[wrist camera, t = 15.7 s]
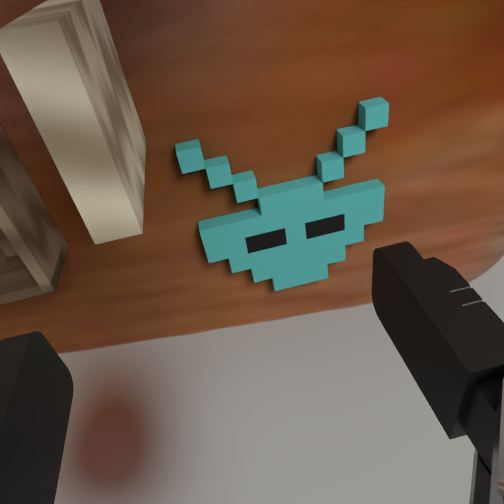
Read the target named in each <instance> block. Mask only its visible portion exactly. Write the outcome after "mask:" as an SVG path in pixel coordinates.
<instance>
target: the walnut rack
mask: <svg viewBox="0 0 504 504" xmlns="http://www.w3.org/2000/svg"><path fill="white" fill-rule="evenodd" d="M67 249H68V245H67V243H66V241H65V239H64V237H63V236H62V234H61V232H60V230H59V228H58V227H57V225H56V223H55V221H54V219H53V218H52V216H51V214H50V212H49V210H48V209H47V207H46V205H45V203H44V202H43V200H42V198H41V196H40V194H39V193H38V191H37V189H36V187H35V185H34V184H33V182H32V180H31V178H30V176H29V175H28V173H27V171H26V169H25V168H24V166H23V164H22V162H21V160H20V159H19V157H18V155H17V153H16V151H15V150H14V148H13V146H12V144H11V142H10V141H9V139H8V137H7V135H6V134H5V132H4V130H3V128H2V126H1V125H0V305H2V304H6V303H10V302H14V301H18V300H22V299H26V298H30V297H35V296H39V295H43V294H47V293H51V292H55V291H56V288H57V285H58V281H59V278H60V274H61V270H62V267H63V263H64V259H65V256H66V252H67Z"/></svg>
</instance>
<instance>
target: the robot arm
mask: <svg viewBox="0 0 504 504" xmlns="http://www.w3.org/2000/svg"><path fill="white" fill-rule="evenodd" d="M372 300H373V305H374V308H375V311H376V314H377V316H378V317H379V319H380V321H381V323H382V325H383V326H384V328H385V330H386V331H387V333H388V335H389V337H390V338H391V340H392V342H393V343H394V345H395V347H396V349H397V350H398V352H399V353H400V355H401V357H402V359H403V360H404V362H405V364H406V366H407V367H408V369H409V371H410V372H411V374H412V376H413V378H414V379H415V381H416V383H417V384H418V386H419V388H420V389H421V391H422V393H423V395H424V396H425V398H426V400H427V401H428V403H429V405H430V406H431V408H432V410H433V411H434V413H435V415H436V417H437V418H438V420H439V422H440V424H441V425H442V427H443V429H444V430H445V432H446V434H447V435H448V437H449V439H453V438H456V437H460V436H463V435H468V437H469V439H470V440H471V442H472V443H473V445H474V447H475V448H476V449H475V453H474V461H473V472H472V483H471V492H470V503H469V504H504V323H503V321H502V320H501V319H500V318H499V317H498V316H497V315H496V314H495V312H493V310H492V309H491V308H490V307H489V306H488V305H487V304H486V303H485V302H483V301H482V298H481V297H480V296H479V295H478V294H477V293H476V291H475V290H474V289H473V288H470V285H469V284H468V282H467V281H466V280H465V279H464V278H463V277H462V276H461V275H460V274H459V273H458V271H457V270H456V269H455V268H453V267H451V266H449V265H448V264H446V263H444V262H442V261H441V260H439V259H437V258H435V257H432V258H428V259H423V258H422V257H421V255H420V254H419V253H418V252H417V251H416V249H415V248H414V247H413V246H412V245H411V244H410V243H409V242H401V243H397V244H393V245H389V246H385V247H381V248H377V249H375V250H374V253H373V273H372ZM72 398H73V381H72V377H71V374H70V371H69V370H68V368H67V367H66V365H65V364H64V363H63V361H62V360H61V358H60V357H59V356H58V354H57V353H56V352H55V350H54V349H53V347H52V346H51V345H50V343H49V342H48V341H47V339H46V338H45V337H44V335H43V334H42V333H40V332H37V331H36V332H31V333H27V334H23V335H19V336H15V337H11V338H7V339H3V340H1V341H0V504H54V500H55V495H56V489H57V483H58V478H59V472H60V466H61V461H62V455H63V449H64V443H65V438H66V432H67V427H68V421H69V414H70V409H71V404H72Z"/></svg>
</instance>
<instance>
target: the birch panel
mask: <svg viewBox="0 0 504 504" xmlns="http://www.w3.org/2000/svg"><path fill="white" fill-rule="evenodd" d="M0 54H1V56H2V58H3V60H4V62H5V64H6V66H7V68H8V70H9V72H10V74H11V76H12V78H13V80H14V82H15V84H16V86H17V88H18V90H19V92H20V94H21V96H22V98H23V100H24V102H25V104H26V106H27V108H28V110H29V112H30V114H31V116H32V118H33V120H34V122H35V124H36V126H37V128H38V130H39V132H40V134H41V136H42V138H43V140H44V142H45V144H46V146H47V148H48V150H49V152H50V154H51V156H52V159H53V161H54V163H55V165H56V167H57V169H58V171H59V173H60V175H61V177H62V179H63V181H64V183H65V185H66V187H67V189H68V191H69V193H70V195H71V197H72V199H73V201H74V203H75V205H76V207H77V209H78V211H79V213H80V215H81V217H82V219H83V221H84V223H85V225H86V227H87V229H88V231H89V233H90V235H91V237H92V239H93V241H94V243H95V245H96V244H100V243H104V242H109V241H113V240H117V239H122V238H126V237H130V236H134V235H139V234H143V209H144V184H145V158H146V139H145V136H144V133H143V130H142V127H141V124H140V121H139V118H138V115H137V112H136V109H135V106H134V103H133V100H132V97H131V93H130V90H129V87H128V84H127V81H126V78H125V75H124V72H123V69H122V66H121V63H120V60H119V57H118V54H117V51H116V48H115V45H114V42H113V39H112V36H111V33H110V30H109V27H108V24H107V21H106V18H105V15H104V12H103V9H102V6H101V3H100V0H47V1H45V2H43V3H42V4H40V5H38V6H37V7H35V8H33V9H32V10H30V11H28V12H27V13H25V14H24V15H22V16H20V17H19V18H17V19H15V20H14V21H12V22H10V23H9V24H7V25H6V26H4V27H2V28H1V29H0Z"/></svg>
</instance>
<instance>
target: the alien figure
mask: <svg viewBox="0 0 504 504" xmlns="http://www.w3.org/2000/svg"><path fill="white" fill-rule="evenodd" d="M388 111H389V103H388V102H387V101H386V100H384V99H383V98H381V97H378V98H374V99H370V100H365V101H361V102H358V125H354V126H350V127H345V128H341V129H337V150H336V151H332V152H328V153H324V154H319V155H316V162H317V175H314V176H310V177H305V178H301V179H297V180H293V181H289V182H284V183H280V184H276V185H272V186H268V187H263V188H259V189H257V184H256V178H255V176H254V173H253V171H252V170H251V171H247V172H243V173H239V174H234V175H231V170H230V166H229V162H228V159H227V156H226V155H225V156H221V157H216V158H212V159H208V160H204V159H203V155H202V151H201V147H200V143H199V139H196V140H191V141H187V142H183V143H178V144H175V148H176V154H177V157H178V161H179V164H180V167H181V171H182V174H185V173H189V172H193V171H197V170H202V169H206V171H207V175H208V179H209V183H210V187H211V189H213V188H217V187H222V186H226V185H230V184H233V189H234V193H235V197H236V200H237V203H239V202H244V201H248V200H252V199H256V198H257V201H258V206H259V207H257V208H253V209H249V210H245V211H241V212H236V213H232V214H228V215H224V216H220V217H216V218H211V219H207V220H203V221H199V222H198V225H199V231H200V235H201V238H202V242H203V245H204V248H205V252H206V255H207V258H208V262H209V263H212V262H216V261H220V260H224V259H228V258H229V262H230V266H231V270H232V273H235V272H239V271H243V270H247V269H251V273H252V276H253V280H254V283H255V282H259V281H263V280H267V279H271V280H272V284H273V287H274V290H275V291H278V290H282V289H286V288H290V287H294V286H298V285H302V284H306V283H310V282H314V281H318V280H322V279H326V278H328V267H327V264H331V263H335V262H339V261H343V260H345V245H348V244H353V243H357V242H361V241H364V225H367V224H371V223H375V222H379V221H383V208H384V188H385V186H384V185H383V184H382V183H381V182H380V181H379V180H378V179H374V180H370V181H366V182H362V183H357V184H353V185H349V186H345V187H341V188H337V189H332V190H328V191H324V192H323V182H327V181H331V180H336V179H340V178H344V163H343V158H344V157H348V156H353V155H357V154H361V153H365V131H368V130H373V129H377V128H381V127H385V126H388Z"/></svg>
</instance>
